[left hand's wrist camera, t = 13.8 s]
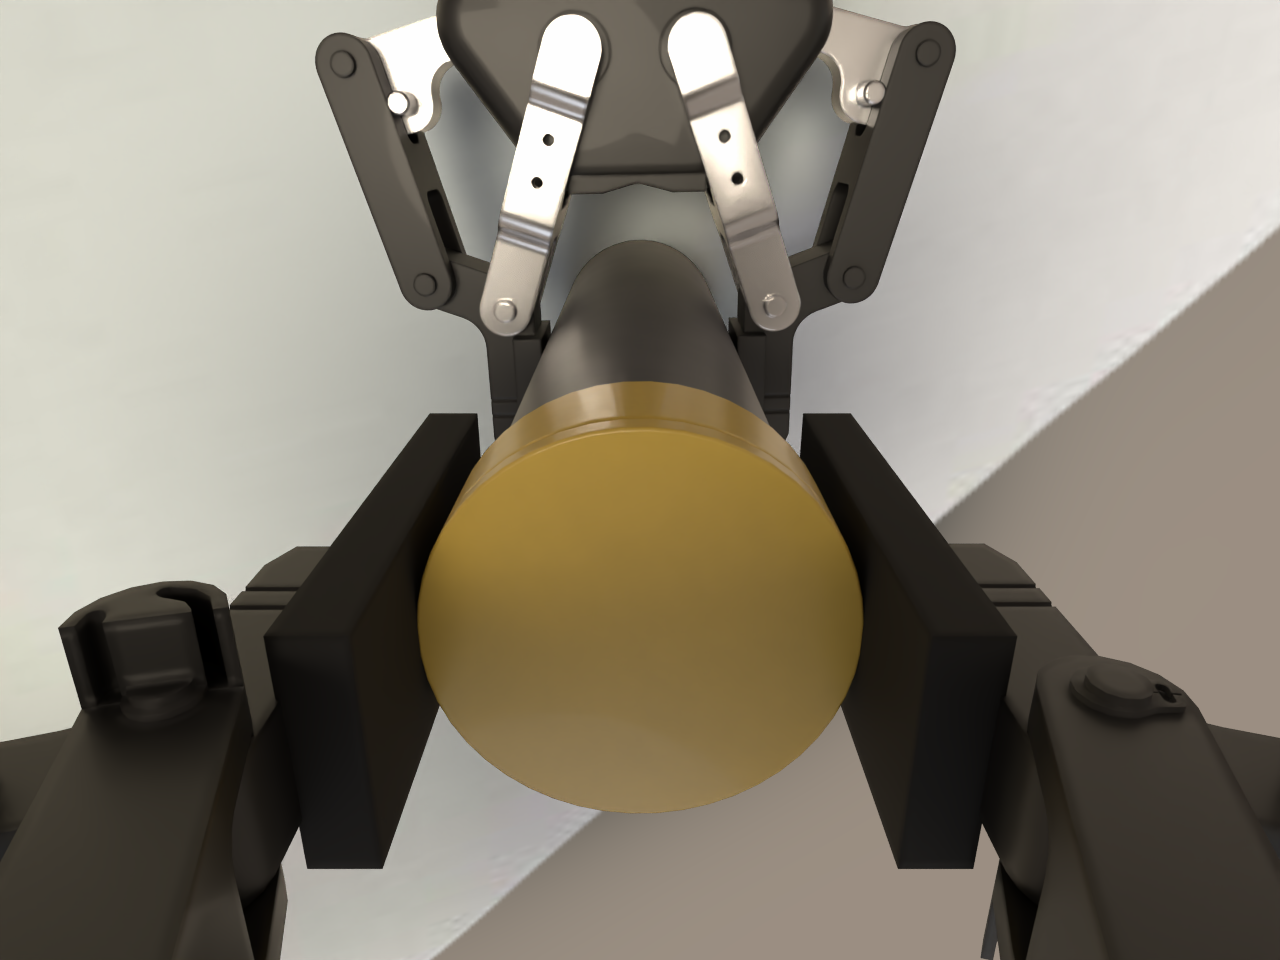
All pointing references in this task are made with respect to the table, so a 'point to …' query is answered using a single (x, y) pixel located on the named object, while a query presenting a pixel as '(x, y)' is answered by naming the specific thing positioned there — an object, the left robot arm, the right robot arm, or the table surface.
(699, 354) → the grey cylindrical bottle
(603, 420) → the lid
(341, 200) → the table surface
